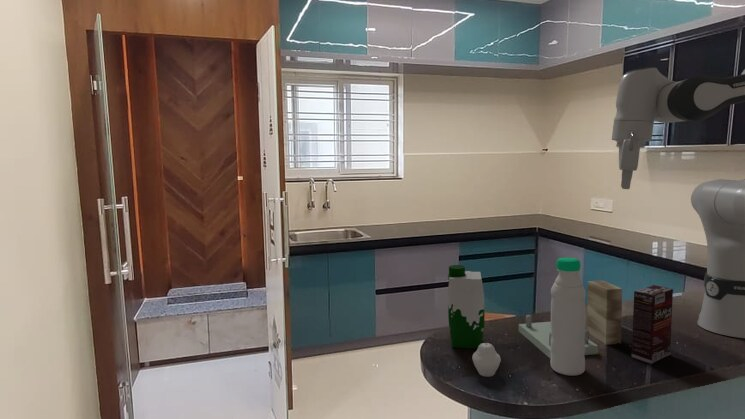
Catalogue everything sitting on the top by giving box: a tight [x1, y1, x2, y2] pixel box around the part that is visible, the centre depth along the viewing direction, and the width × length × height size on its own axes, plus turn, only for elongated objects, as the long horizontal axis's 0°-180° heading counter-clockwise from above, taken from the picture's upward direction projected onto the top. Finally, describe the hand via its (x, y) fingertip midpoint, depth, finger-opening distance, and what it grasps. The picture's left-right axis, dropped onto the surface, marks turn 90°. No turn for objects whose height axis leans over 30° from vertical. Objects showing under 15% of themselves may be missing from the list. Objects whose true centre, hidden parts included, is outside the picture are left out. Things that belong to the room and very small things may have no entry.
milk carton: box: [447, 264, 485, 350], centre depth 116 cm, size 9×9×20 cm
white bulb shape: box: [471, 342, 502, 378], centre depth 100 cm, size 6×6×7 cm
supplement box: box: [631, 284, 674, 365], centre depth 104 cm, size 9×5×16 cm, turn 122°
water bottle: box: [549, 257, 587, 377], centre depth 99 cm, size 7×7×25 cm
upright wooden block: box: [586, 279, 623, 346], centre depth 116 cm, size 4×8×14 cm, turn 6°
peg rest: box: [518, 314, 599, 359], centre depth 115 cm, size 12×17×5 cm
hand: (625, 188), depth 116 cm, fingers open, 8 cm apart
